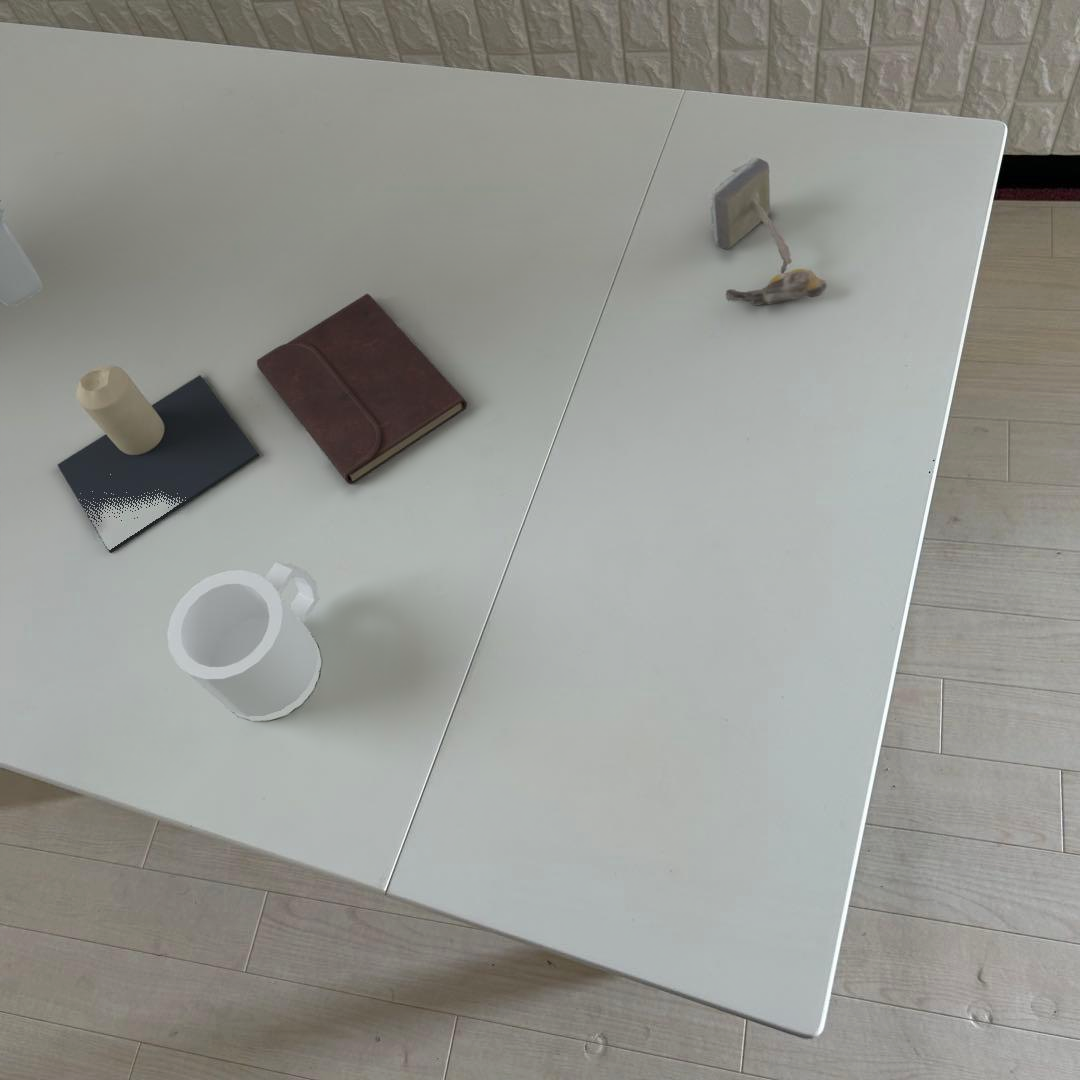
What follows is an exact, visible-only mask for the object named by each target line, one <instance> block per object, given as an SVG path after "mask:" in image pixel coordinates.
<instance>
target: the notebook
mask: <svg viewBox="0 0 1080 1080" xmlns="http://www.w3.org/2000/svg"><path fill="white" fill-rule="evenodd" d="M256 366H257V368H258V370H259V371H260V372H261V373H262V375H263V376H264V377H265V379H266V380H267V381H268V383H269V384H270V385H271V387H272V388H273V389H274V390H275V392H276V393H277V394H278V395H279V397H280V398H281V399H282V401H283V402H284V403H285V405H286V406H287V407H288V409H289V410H290V411H291V412H292V413H293V415H294V416H295V418H296V419H297V420H298V421H299V423H300V424H301V425H302V426H303V428H304V429H305V430H306V432H307V433H308V434H309V435H310V437H311V438H312V439H313V441H314V442H315V443H316V445H317V446H318V447H319V448H320V450H321V451H322V452H323V454H324V455H325V456H326V457H327V459H328V460H329V461H330V463H331V465H333V467H334V468H335V469H336V470H337V472H338V473H339V475H340V476H341V477H342V478H343V479H344V481H345V482H346V483H347V484H349V485H353V484H355V483H356V482H358V481H359V480H360V479H362V478H364V477H366V476H367V475H368V474H370V473H372V472H373V471H375V470H376V469H377V468H379V467H380V466H382V465H384V464H385V463H386V462H389V461H390V460H391V459H392V458H394V457H395V456H396V455H399V454H400V453H402V452H403V451H404V450H406V449H408V448H409V447H410V446H412V445H413V444H415V443H416V442H418V441H420V440H421V439H422V438H424V437H425V436H428V434H430V433H431V432H433V431H434V430H436V429H438V428H439V427H441V426H443V425H444V424H446V423H447V422H448V421H450V420H451V419H453V418H454V417H456V416H457V415H459V414H460V413H461V412H463V411H465V410H466V409H467V407H468V402H467V400H466V399H464V397H463V396H462V395H461V394H460V392H458V390H456V388H455V387H454V386H453V385H452V384H451V383H450V382H449V380H447V379H446V377H445V376H444V375H443V374H442V373H441V372H440V370H438V369H437V367H436V366H435V365H434V364H433V363H432V362H431V361H430V360H429V358H428V357H426V355H425V354H424V353H423V352H422V351H421V349H419V347H418V346H417V345H416V344H415V343H414V342H413V340H411V339H410V338H409V336H408V335H407V334H406V333H405V332H404V331H403V330H402V329H401V328H400V327H399V325H398V324H397V323H396V322H395V321H394V320H393V319H392V317H390V315H389V314H388V313H387V312H386V311H385V310H384V309H383V308H382V307H381V305H380V304H378V302H377V301H376V300H375V299H374V298H373V297H372V295H370V294H368V293H365V294H364V295H362V296H360V297H359V298H357V299H356V300H354V301H353V302H351V303H350V304H348V305H346V306H345V307H343V308H341V309H339V310H338V311H336V312H335V313H333V314H332V315H330V316H328V317H327V318H325V319H324V320H322V321H321V322H319V323H317V324H316V325H313V326H312V327H310V328H309V329H308V330H306V331H305V332H303V333H301V334H300V335H298V336H296V337H295V338H293V339H291V340H290V341H288V342H287V343H284V344H281V345H279V346H277V347H275V348H274V349H272V350H270V351H268V352H267V353H266V354H264V355H262V356H261V357H259V358H258V359H256Z"/></svg>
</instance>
